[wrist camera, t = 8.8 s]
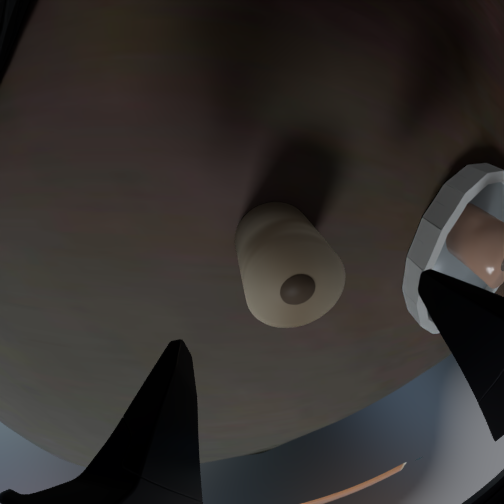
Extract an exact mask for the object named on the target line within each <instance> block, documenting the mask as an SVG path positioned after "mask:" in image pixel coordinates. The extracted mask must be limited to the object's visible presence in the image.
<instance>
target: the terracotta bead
mask: <svg viewBox="0 0 504 504" xmlns="http://www.w3.org/2000/svg"><path fill="white" fill-rule="evenodd" d="M446 246H447V249H448V251H449V252H450V253H451V254H452V255H453V256H455V257H456V258H457V259H458V260H459V261H461V262H462V263H463V264H464V265H465V266H467V267H468V268H469V269H470V270H471V271H473V272H474V273H475V274H476V275H477V276H478V277H479V278H481V279H482V280H483V281H484V282H485V283H486V284H487V285H488V286H489V287H491V288H492V289H494V288H497V287H499V286H500V285H501V284H502V283H503V282H504V222H502V221H501V220H499V219H498V218H496V217H494V216H493V215H491V214H489V213H488V212H486V211H484V210H482V209H481V208H479V207H477V206H475V205H474V204H471V203H468V204H467V205H466V207H465V209H464V210H463V212H462V213H461V215H460V217H459V218H458V220H457V221H456V223H455V224H454V226H453V227H452V229H451V230H450V232H449V233H448V235H447V237H446Z"/></svg>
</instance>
